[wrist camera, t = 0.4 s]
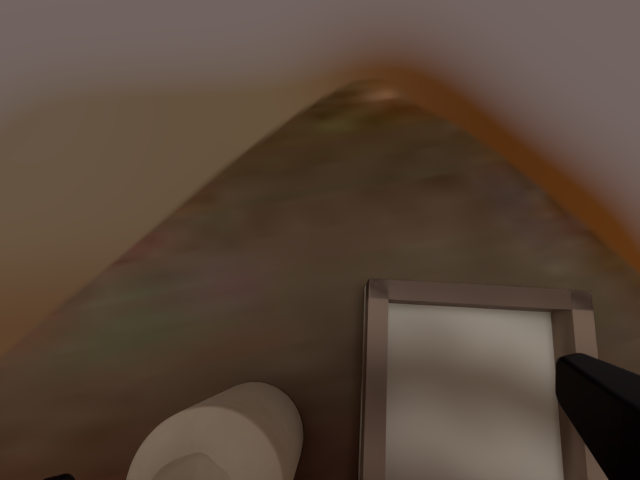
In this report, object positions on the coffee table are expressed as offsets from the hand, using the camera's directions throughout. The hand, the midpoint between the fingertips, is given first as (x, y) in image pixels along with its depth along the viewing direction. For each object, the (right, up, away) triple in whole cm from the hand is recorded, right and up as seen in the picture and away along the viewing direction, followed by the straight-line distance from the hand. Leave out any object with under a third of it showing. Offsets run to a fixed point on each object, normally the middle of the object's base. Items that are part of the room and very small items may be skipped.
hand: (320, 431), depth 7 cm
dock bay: (+8, -5, +15) cm, 17 cm away
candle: (-4, -7, +15) cm, 17 cm away
